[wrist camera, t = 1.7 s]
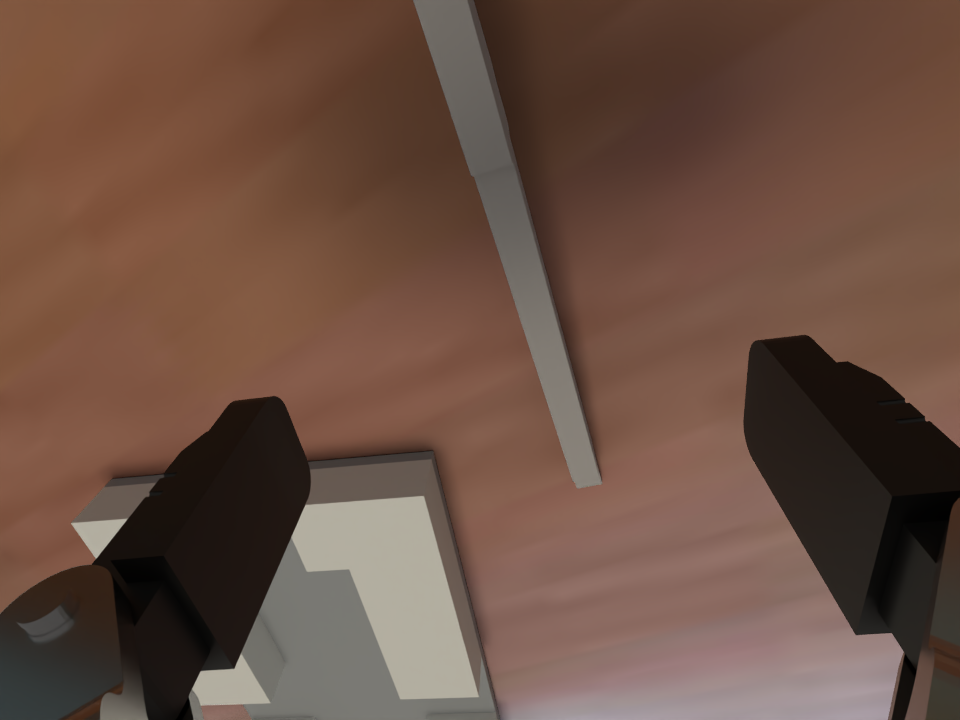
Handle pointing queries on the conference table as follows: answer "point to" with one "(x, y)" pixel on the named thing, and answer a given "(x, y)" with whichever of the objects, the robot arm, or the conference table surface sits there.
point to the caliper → (507, 213)
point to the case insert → (349, 602)
